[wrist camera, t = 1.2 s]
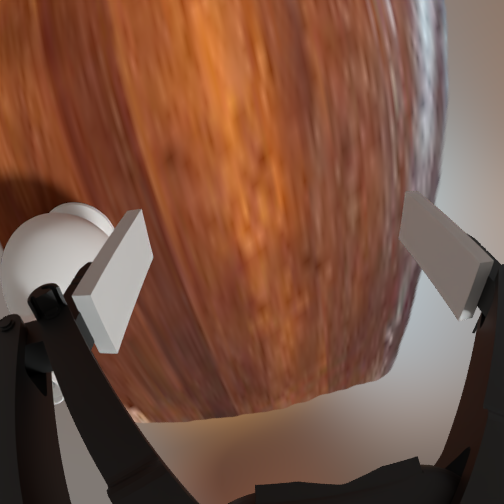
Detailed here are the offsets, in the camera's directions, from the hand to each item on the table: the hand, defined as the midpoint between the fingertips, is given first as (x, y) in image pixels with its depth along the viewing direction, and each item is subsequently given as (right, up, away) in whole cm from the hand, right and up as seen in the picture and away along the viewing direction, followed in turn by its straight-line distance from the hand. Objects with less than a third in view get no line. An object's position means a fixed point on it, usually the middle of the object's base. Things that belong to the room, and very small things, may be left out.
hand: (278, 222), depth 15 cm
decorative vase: (-27, 0, +28) cm, 39 cm away
